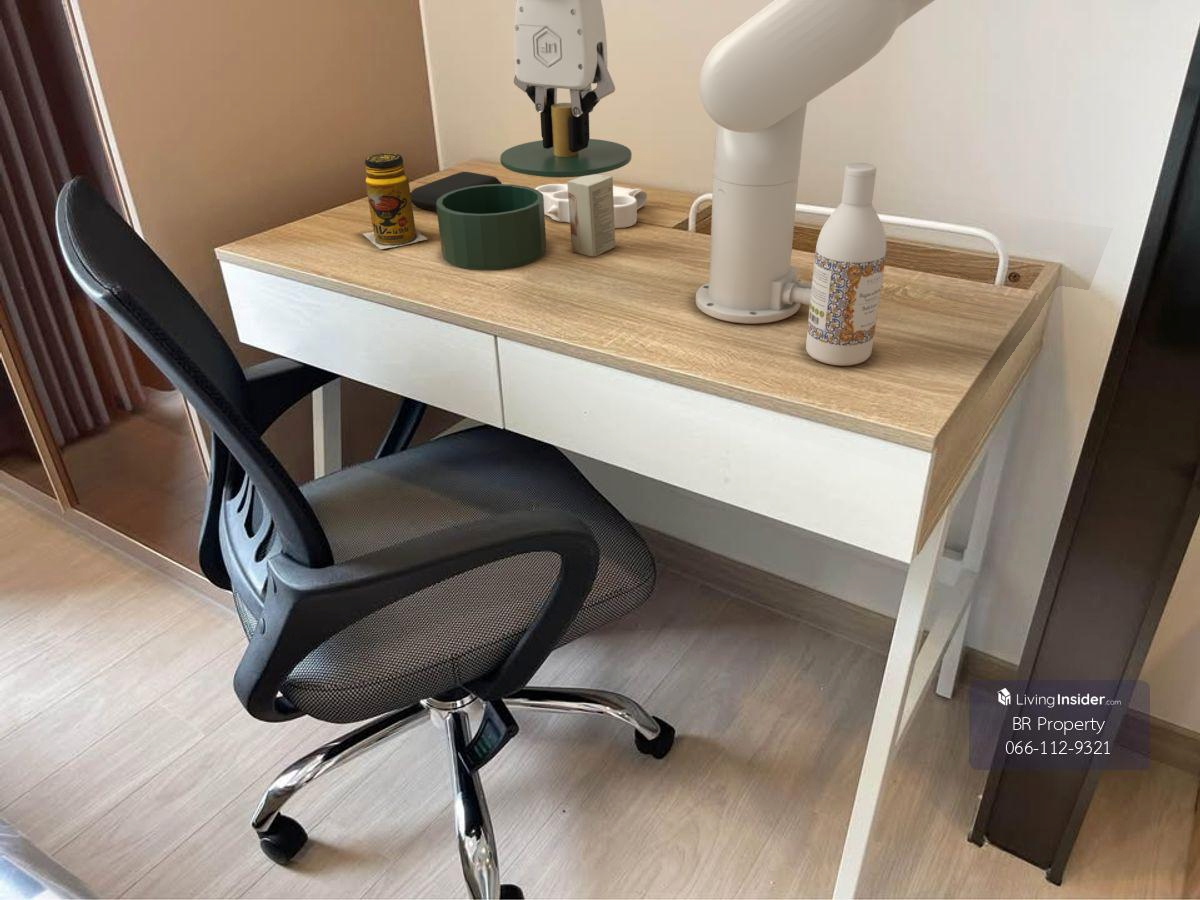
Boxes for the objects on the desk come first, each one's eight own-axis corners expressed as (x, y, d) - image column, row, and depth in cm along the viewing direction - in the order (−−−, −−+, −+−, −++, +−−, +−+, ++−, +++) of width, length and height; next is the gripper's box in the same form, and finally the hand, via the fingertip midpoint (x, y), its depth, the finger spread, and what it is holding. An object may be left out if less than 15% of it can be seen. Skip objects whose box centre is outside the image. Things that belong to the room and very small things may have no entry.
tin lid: (654, 156, 111) (655, 98, 108) (587, 189, 100) (585, 125, 96) (548, 142, 118) (545, 88, 115) (474, 172, 107) (468, 112, 103)
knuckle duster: (664, 209, 143) (612, 236, 133) (571, 193, 152) (516, 217, 142) (664, 188, 142) (611, 213, 132) (570, 173, 151) (514, 195, 140)
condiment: (381, 250, 131) (367, 165, 124) (361, 234, 137) (348, 153, 130) (428, 240, 134) (418, 157, 127) (407, 225, 140) (396, 145, 134)
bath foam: (838, 373, 95) (863, 180, 84) (791, 350, 100) (809, 164, 89) (884, 356, 98) (913, 167, 87) (837, 334, 103) (859, 153, 92)
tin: (566, 244, 131) (563, 191, 127) (506, 277, 121) (501, 221, 117) (485, 229, 138) (480, 179, 134) (421, 259, 127) (414, 206, 123)
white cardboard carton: (593, 241, 132) (591, 171, 126) (616, 247, 129) (615, 176, 124) (568, 251, 128) (565, 179, 123) (592, 258, 126) (589, 185, 120)
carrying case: (460, 184, 158) (399, 207, 148) (458, 167, 157) (396, 188, 147) (507, 193, 153) (448, 217, 143) (506, 175, 152) (446, 198, 141)
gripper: (477, -26, 99) (491, 147, 109) (606, -22, 92) (609, 163, 102) (517, -32, 105) (527, 134, 114) (642, -28, 97) (641, 148, 107)
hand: (565, 146), depth 108 cm, fingers closed on tin lid, 3 cm apart
